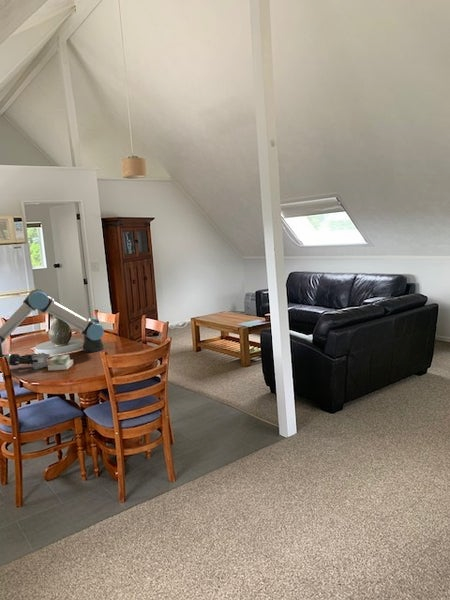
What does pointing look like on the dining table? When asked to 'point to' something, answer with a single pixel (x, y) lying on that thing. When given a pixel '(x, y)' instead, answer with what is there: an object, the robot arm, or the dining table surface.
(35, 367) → the medicine box
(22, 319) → the robot arm
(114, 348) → the dining table surface
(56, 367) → the tower base slab
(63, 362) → the tower top slab
